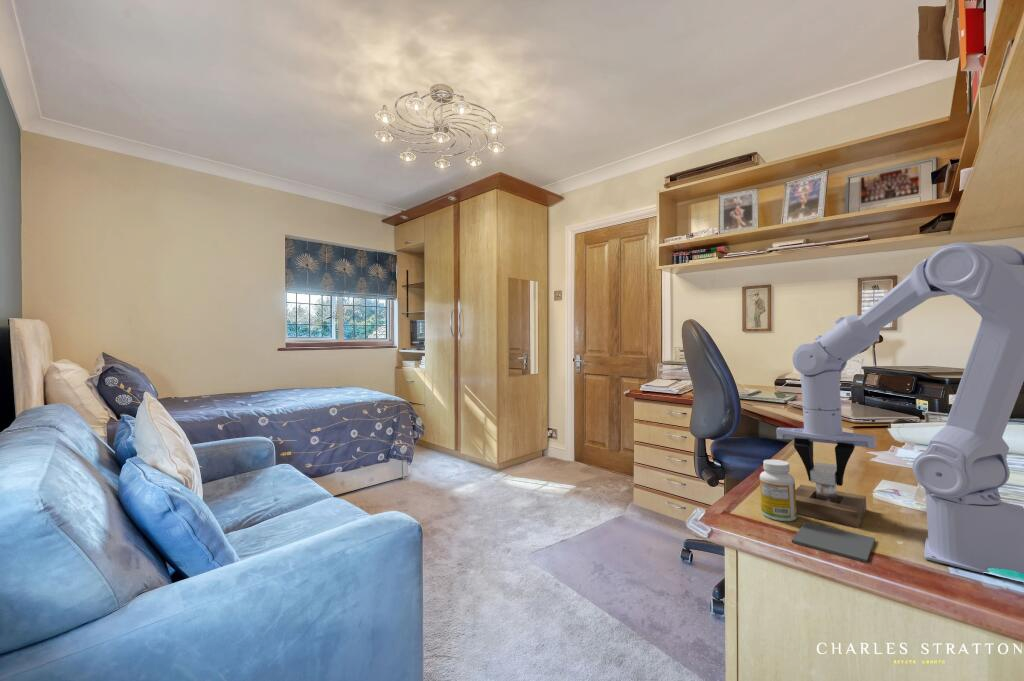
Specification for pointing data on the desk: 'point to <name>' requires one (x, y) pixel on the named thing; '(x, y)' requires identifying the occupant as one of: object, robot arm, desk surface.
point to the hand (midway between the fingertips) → (825, 482)
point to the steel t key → (825, 481)
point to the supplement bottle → (777, 491)
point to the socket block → (831, 506)
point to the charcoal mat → (835, 541)
